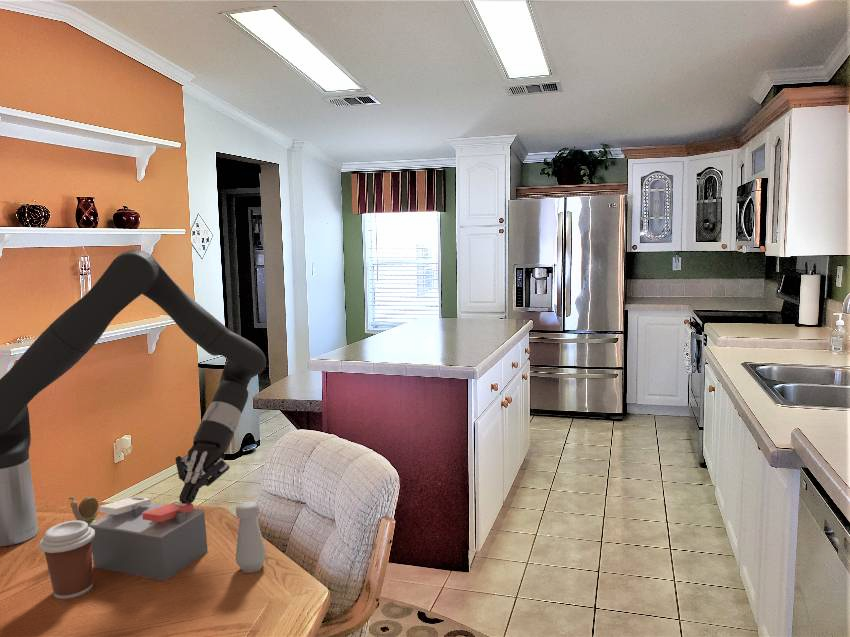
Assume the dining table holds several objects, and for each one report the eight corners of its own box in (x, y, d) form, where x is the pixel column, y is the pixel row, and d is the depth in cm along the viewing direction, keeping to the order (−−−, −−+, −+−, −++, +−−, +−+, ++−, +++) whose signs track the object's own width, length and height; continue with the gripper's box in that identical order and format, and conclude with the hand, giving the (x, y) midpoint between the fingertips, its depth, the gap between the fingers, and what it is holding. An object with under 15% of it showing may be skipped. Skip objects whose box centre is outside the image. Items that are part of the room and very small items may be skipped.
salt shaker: (258, 576, 124) (253, 511, 122) (230, 574, 125) (225, 509, 123) (271, 561, 129) (267, 498, 128) (245, 559, 131) (240, 497, 129)
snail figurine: (67, 550, 138) (60, 496, 136) (92, 537, 144) (86, 484, 142) (85, 554, 136) (79, 499, 134) (111, 540, 142) (105, 487, 140)
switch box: (93, 567, 130) (88, 515, 129) (139, 540, 141) (135, 492, 140) (165, 581, 123) (160, 526, 122) (207, 551, 135) (203, 501, 133)
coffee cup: (42, 588, 123) (34, 527, 121) (95, 571, 128) (88, 513, 127) (49, 609, 115) (41, 544, 114) (105, 590, 121) (98, 529, 119)
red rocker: (142, 519, 125) (142, 512, 125) (175, 507, 134) (176, 501, 134) (160, 522, 124) (160, 514, 124) (193, 510, 132) (193, 503, 132)
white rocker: (99, 512, 129) (99, 505, 129) (134, 502, 138) (134, 495, 138) (116, 514, 128) (116, 508, 128) (150, 504, 136) (150, 498, 136)
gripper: (184, 417, 142) (148, 492, 133) (234, 420, 138) (201, 499, 128) (202, 433, 148) (169, 506, 138) (251, 437, 143) (221, 513, 134)
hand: (184, 502), depth 133 cm, fingers closed
